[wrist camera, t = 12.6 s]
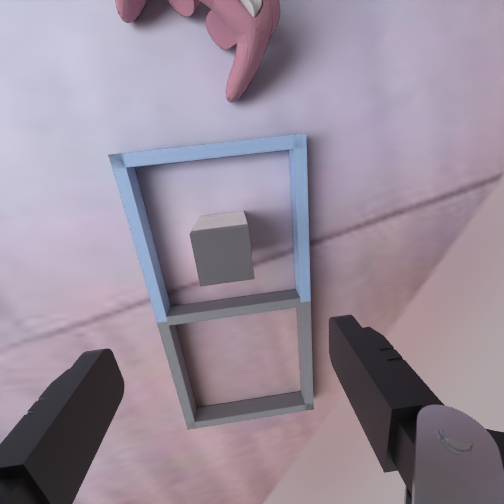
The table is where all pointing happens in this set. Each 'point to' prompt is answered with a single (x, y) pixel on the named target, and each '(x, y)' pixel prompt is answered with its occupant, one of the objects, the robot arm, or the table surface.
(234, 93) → the video game controller
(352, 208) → the table surface
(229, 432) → the table surface
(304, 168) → the two-cell open frame
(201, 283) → the grey rectangular block
